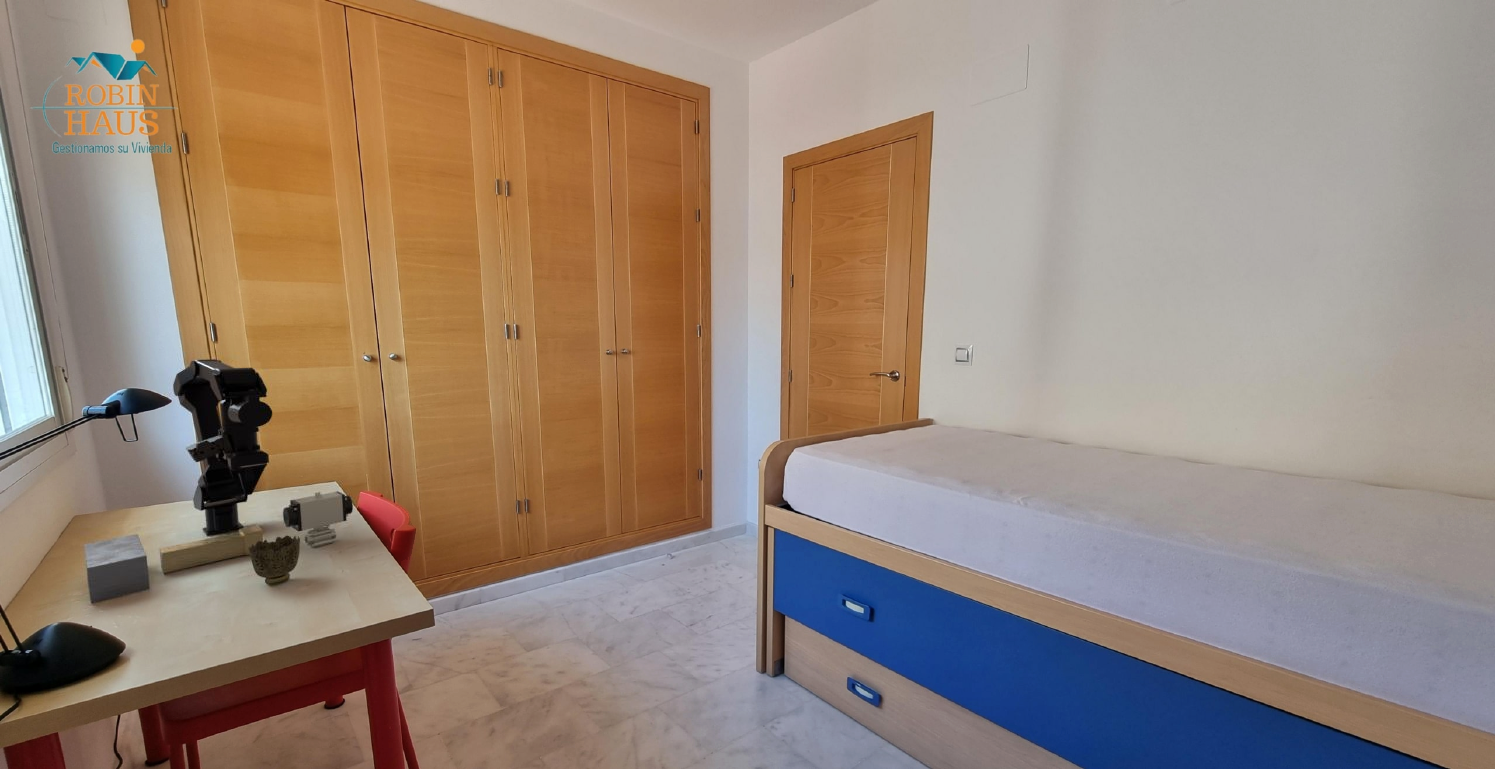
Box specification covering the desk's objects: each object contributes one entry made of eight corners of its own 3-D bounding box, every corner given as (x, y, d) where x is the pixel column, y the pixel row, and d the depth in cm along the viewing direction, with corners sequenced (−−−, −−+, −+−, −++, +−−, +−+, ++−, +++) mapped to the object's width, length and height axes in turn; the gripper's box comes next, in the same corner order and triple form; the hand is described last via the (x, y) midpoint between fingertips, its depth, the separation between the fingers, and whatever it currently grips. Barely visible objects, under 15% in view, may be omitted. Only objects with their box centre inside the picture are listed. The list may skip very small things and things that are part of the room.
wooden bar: (258, 546, 121) (257, 525, 121) (264, 551, 118) (262, 530, 118) (160, 568, 110) (158, 545, 109) (163, 574, 107) (161, 551, 106)
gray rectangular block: (140, 564, 112) (137, 534, 111) (149, 589, 101) (146, 555, 100) (87, 576, 106) (83, 544, 106) (90, 603, 95) (87, 568, 95)
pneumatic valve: (355, 538, 126) (352, 488, 125) (291, 554, 117) (287, 500, 116) (346, 533, 130) (343, 484, 129) (284, 548, 120) (280, 496, 119)
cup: (300, 570, 109) (298, 532, 108) (305, 582, 104) (302, 542, 103) (250, 582, 104) (247, 541, 103) (252, 595, 99) (249, 552, 98)
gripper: (181, 423, 121) (187, 492, 123) (194, 432, 110) (201, 507, 111) (248, 418, 130) (253, 481, 131) (267, 425, 119) (272, 495, 120)
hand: (244, 491), depth 123 cm, fingers open, 9 cm apart
